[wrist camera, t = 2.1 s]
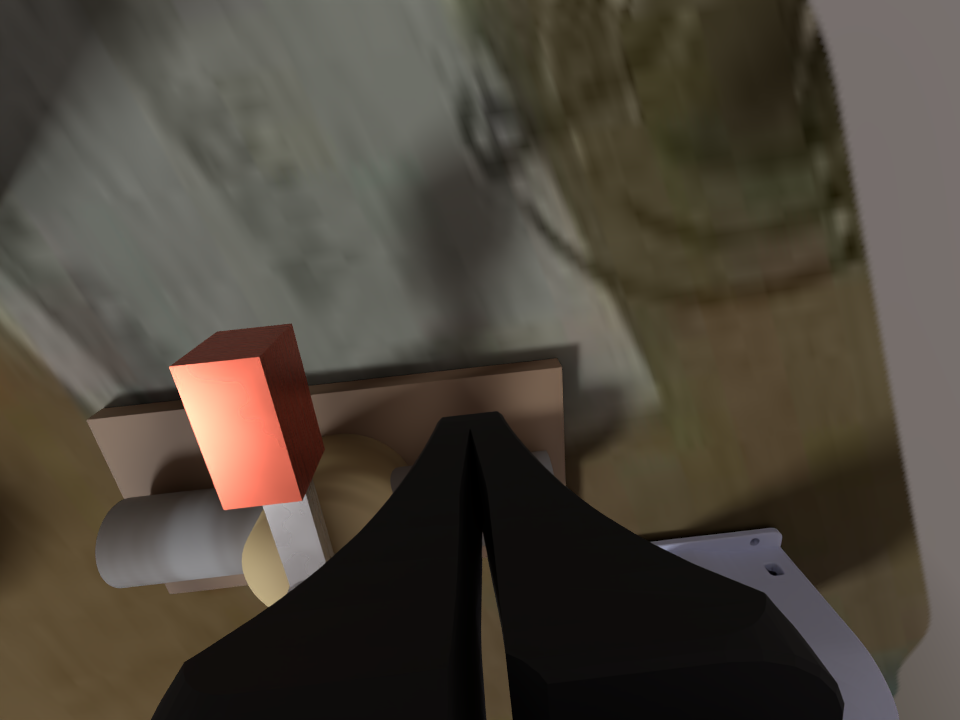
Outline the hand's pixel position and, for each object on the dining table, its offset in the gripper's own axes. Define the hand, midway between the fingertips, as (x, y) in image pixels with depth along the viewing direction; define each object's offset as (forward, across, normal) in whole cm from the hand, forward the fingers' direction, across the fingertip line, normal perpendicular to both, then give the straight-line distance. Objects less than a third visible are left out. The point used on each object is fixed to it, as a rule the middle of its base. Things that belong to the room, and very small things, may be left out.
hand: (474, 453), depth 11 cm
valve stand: (+10, +6, +8) cm, 14 cm away
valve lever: (+5, +6, +3) cm, 8 cm away
